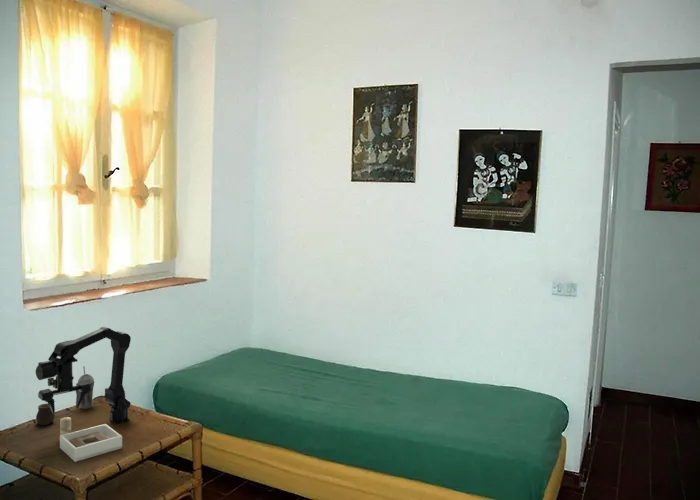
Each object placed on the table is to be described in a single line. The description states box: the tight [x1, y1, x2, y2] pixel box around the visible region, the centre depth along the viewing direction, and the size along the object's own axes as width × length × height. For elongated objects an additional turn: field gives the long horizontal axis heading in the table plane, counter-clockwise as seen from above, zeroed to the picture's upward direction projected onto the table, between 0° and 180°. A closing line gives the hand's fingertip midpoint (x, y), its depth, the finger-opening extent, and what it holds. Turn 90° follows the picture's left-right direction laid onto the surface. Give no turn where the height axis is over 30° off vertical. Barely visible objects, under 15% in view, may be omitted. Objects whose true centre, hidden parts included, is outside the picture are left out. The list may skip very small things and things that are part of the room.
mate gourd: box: [35, 400, 56, 426], centre depth 251 cm, size 7×8×10 cm
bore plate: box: [70, 432, 109, 448], centre depth 229 cm, size 12×12×2 cm
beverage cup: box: [77, 365, 95, 410], centre depth 271 cm, size 7×7×20 cm
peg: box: [59, 416, 72, 436], centre depth 238 cm, size 4×4×8 cm
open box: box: [59, 423, 123, 462], centre depth 229 cm, size 18×16×5 cm
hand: (65, 411), depth 237 cm, fingers open, 9 cm apart
